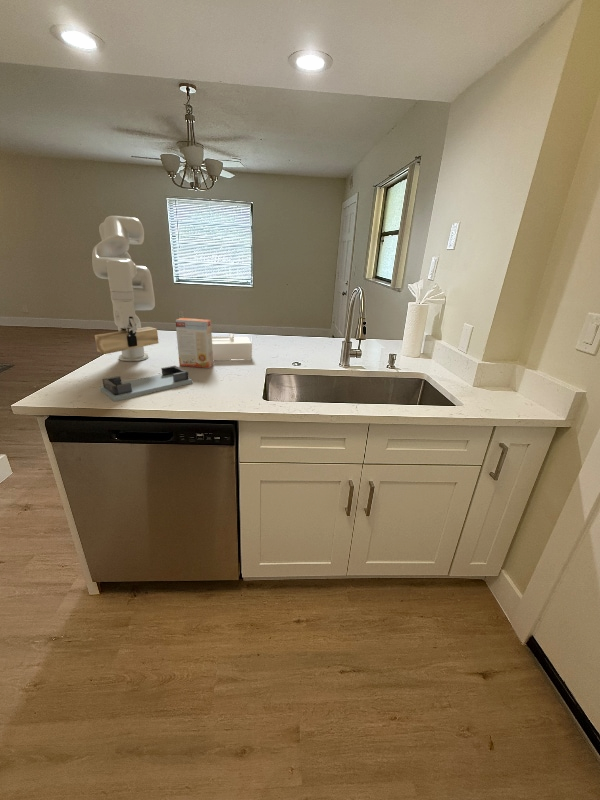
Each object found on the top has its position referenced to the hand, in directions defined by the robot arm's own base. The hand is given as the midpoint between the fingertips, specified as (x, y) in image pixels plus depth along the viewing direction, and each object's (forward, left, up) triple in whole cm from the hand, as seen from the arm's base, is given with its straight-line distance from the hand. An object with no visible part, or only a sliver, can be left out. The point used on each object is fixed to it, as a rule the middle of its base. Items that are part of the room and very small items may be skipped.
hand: (129, 343), depth 131 cm
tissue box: (-4, +47, -14) cm, 49 cm away
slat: (0, 0, -1) cm, 1 cm away
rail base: (+13, 0, -14) cm, 19 cm away
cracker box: (0, +28, -14) cm, 31 cm away
